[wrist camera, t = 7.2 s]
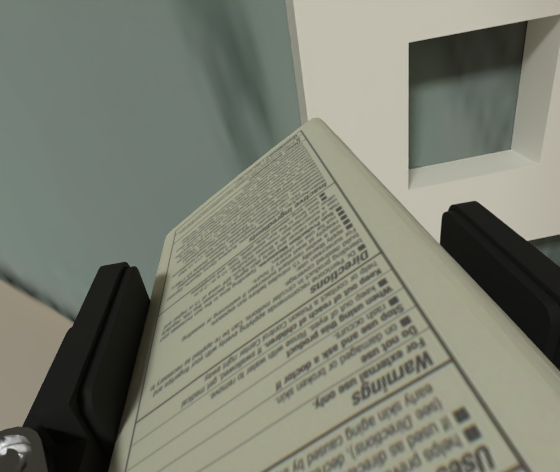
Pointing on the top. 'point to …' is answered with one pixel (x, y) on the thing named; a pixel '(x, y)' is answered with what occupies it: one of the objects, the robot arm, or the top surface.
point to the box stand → (395, 97)
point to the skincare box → (327, 338)
